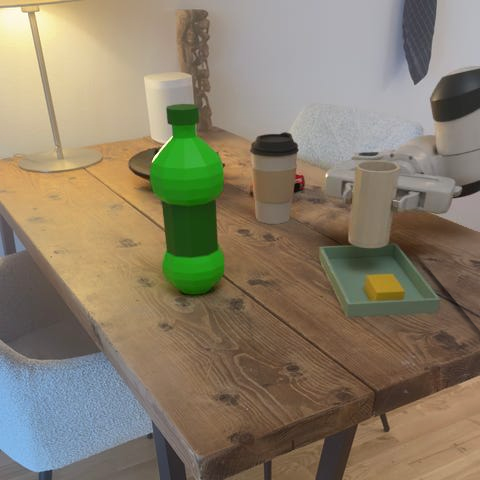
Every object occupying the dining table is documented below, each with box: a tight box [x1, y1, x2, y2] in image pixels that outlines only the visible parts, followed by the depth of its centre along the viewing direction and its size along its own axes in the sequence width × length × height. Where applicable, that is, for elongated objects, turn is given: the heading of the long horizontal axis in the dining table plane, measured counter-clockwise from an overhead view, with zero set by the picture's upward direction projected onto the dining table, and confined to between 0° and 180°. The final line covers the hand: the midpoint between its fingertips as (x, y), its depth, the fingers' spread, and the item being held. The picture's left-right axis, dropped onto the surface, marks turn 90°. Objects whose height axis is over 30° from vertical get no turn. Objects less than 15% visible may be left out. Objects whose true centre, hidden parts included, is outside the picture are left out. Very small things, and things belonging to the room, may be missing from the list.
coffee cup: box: [249, 131, 299, 225], centre depth 108 cm, size 9×9×15 cm
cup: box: [347, 160, 400, 248], centre depth 85 cm, size 6×6×11 cm
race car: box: [249, 172, 306, 195], centre depth 125 cm, size 13×5×4 cm, turn 118°
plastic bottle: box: [149, 103, 226, 295], centre depth 81 cm, size 10×10×25 cm
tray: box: [318, 242, 441, 318], centre depth 87 cm, size 21×13×3 cm, turn 4°
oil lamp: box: [127, 145, 226, 182], centre depth 130 cm, size 22×30×8 cm
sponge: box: [364, 274, 405, 301], centre depth 82 cm, size 6×4×2 cm, turn 4°
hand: (371, 202), depth 84 cm, fingers closed on cup, 6 cm apart
